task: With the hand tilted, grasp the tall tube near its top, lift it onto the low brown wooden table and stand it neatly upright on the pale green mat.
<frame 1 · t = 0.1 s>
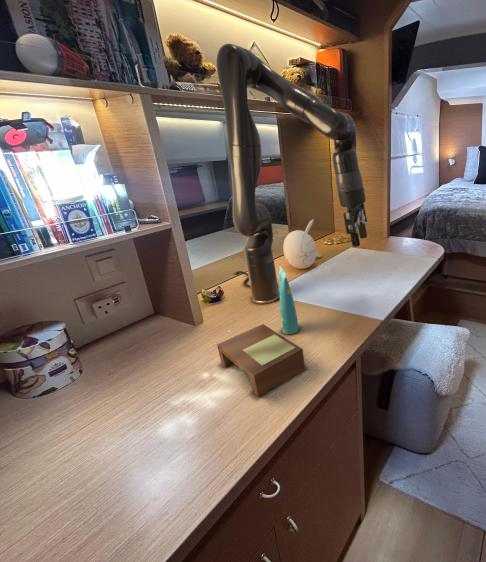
hand: (360, 241, 103), 22 cm above the table, tool pointing down, fingers open, 8 cm apart
stuffed toy: (307, 265, 151), on the table
tube: (291, 330, 101), on the table
brown wooden table: (262, 366, 85), on the table
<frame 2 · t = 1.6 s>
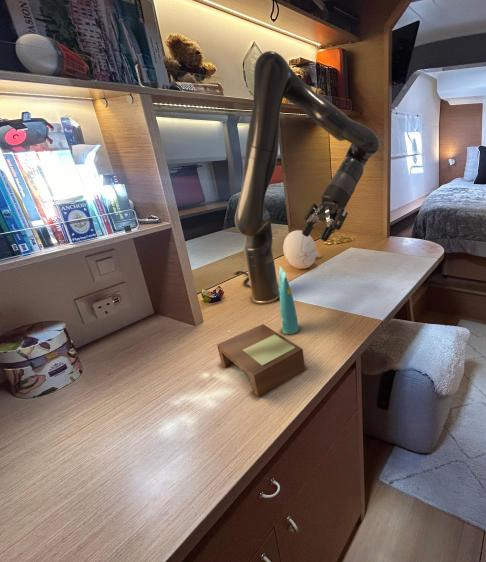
hand: (313, 237, 98), 26 cm above the table, tool tilted 45°, fingers open, 8 cm apart
nothing on the table moved.
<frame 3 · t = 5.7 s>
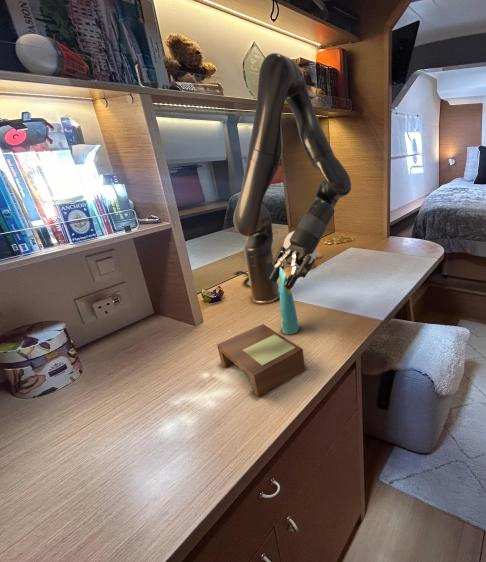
hand: (279, 284, 93), 15 cm above the table, tool tilted 45°, fingers closed on tube, 6 cm apart
tube: (291, 330, 101), on the table, touching gripper
everything else where it was.
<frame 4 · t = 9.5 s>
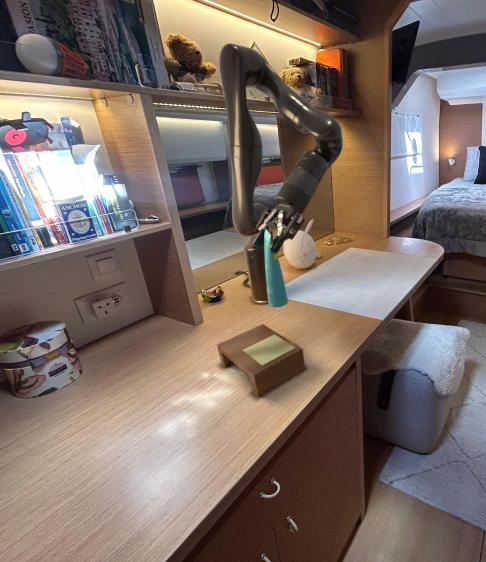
hand: (264, 248, 81), 28 cm above the table, tool tilted 45°, fingers closed on tube, 6 cm apart
tube: (279, 304, 88), point 13 cm above the table, touching gripper
everything else where it was.
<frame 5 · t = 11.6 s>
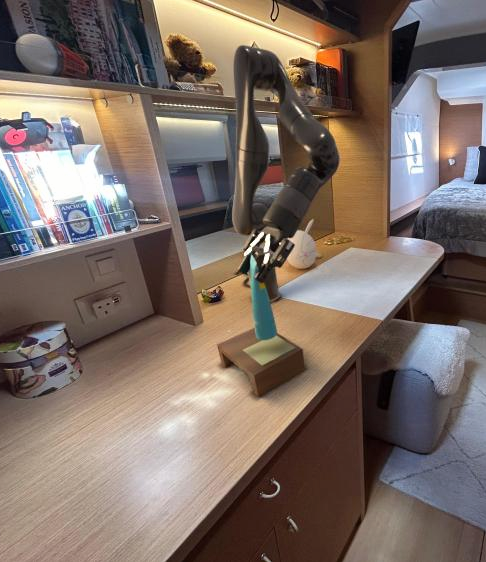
hand: (249, 276, 73), 25 cm above the table, tool tilted 45°, fingers closed on tube, 6 cm apart
tube: (267, 335, 80), point 10 cm above the table, touching gripper
everything else where it was.
when the fingers open (22 cm above the table, at t = 13.4 s): tube stays where it is, resting on brown wooden table.
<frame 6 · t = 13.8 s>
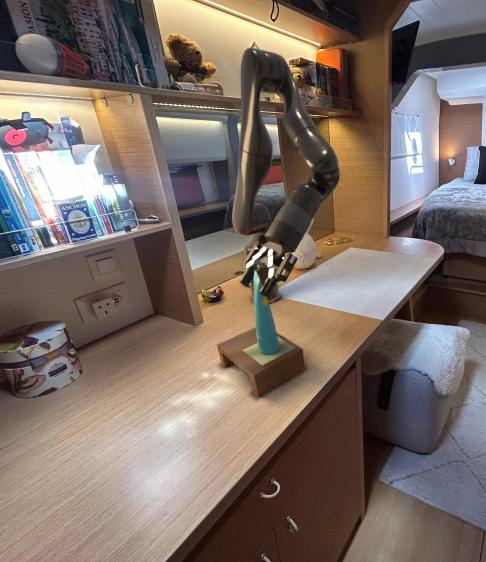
hand: (252, 289, 74), 22 cm above the table, tool tilted 45°, fingers open, 8 cm apart
tube: (269, 349, 81), point 6 cm above the table, touching brown wooden table
everything else where it was.
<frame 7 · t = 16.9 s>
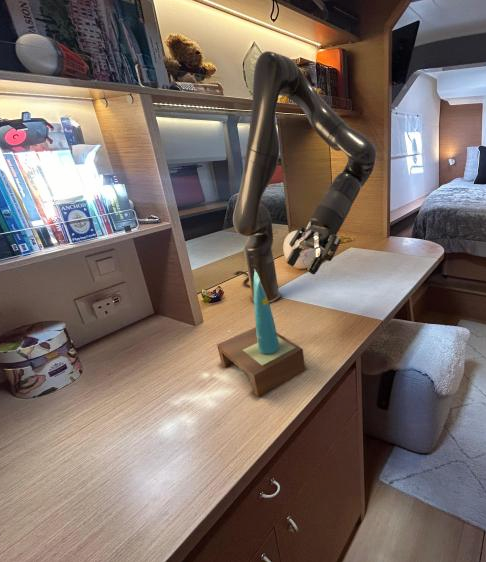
hand: (299, 268, 82), 23 cm above the table, tool tilted 45°, fingers open, 8 cm apart
nothing on the table moved.
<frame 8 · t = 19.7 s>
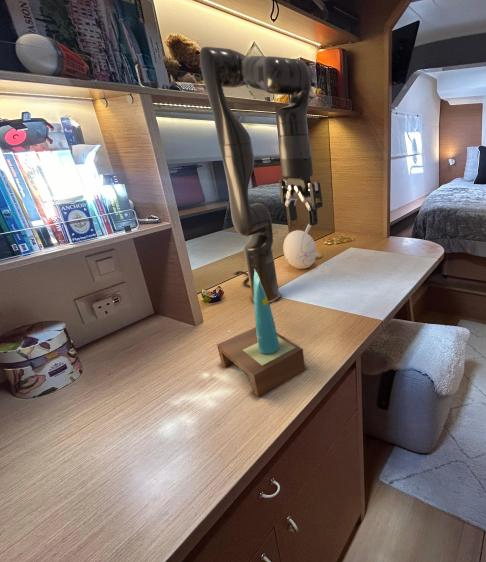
hand: (303, 222, 88), 32 cm above the table, tool pointing down, fingers open, 8 cm apart
nothing on the table moved.
at the end: tube inside the target area on the brown wooden table (0.2 cm from its centre), point 6.0 cm above the brown wooden table's base; tube tilted 0°; the gripper is holding nothing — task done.
